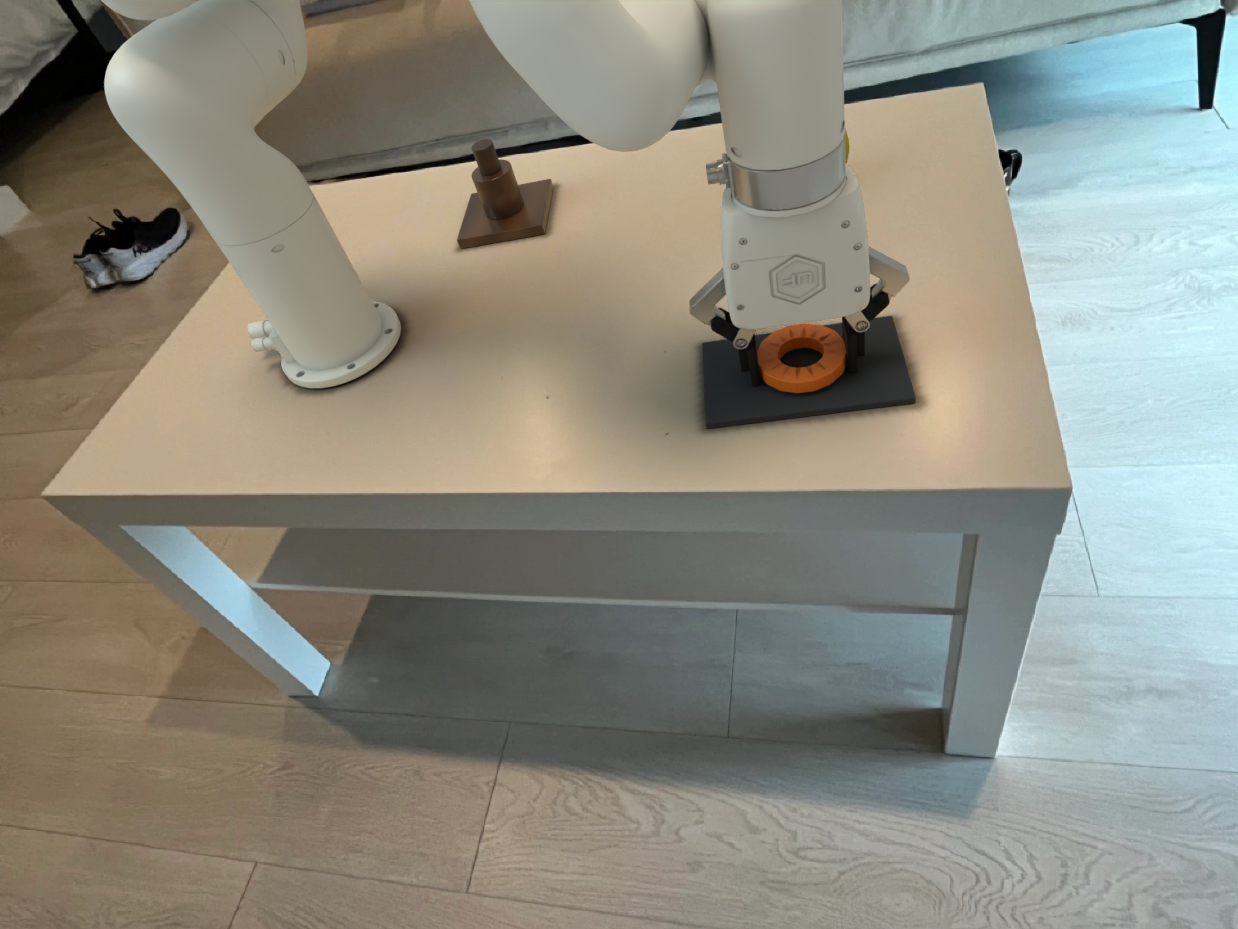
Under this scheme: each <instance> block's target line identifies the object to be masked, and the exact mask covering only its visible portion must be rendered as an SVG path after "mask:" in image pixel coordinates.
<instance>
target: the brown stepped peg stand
mask: <svg viewBox="0 0 1238 929" xmlns="http://www.w3.org/2000/svg"><path fill="white" fill-rule="evenodd" d="M471 152H472V154H473V157H474V159H475V162H476V165H477V167H475V168H474V170H472V172H471V181H472V182H473V185H474V188H475V190H476V192H473V193H470V197H469V200H468V203H467V205H466V209H465V211H464V212H465V213H464V216H463V219H462V222H461V225H460V229H459V232H458V235H457V238H456V241H457V244H458V246H459V249H460V250H463V249H466V248H467V249H469V248H473V247H479V246H484V245H490V244H496V243H502V242H507V241H514V240H518V239H519V240H520V239H524V238H529V237H536V236H542V235H545V234H546V229H547V224H548V218H549V213H550V208H551V202H552V197H553V192H554V185H553V181H552V179H551V178H546V179H542V180H537V181H536V180H535V181H531V182H526V183H520V184H518V181H517V179H516V175H515V172H514V169H513V166H512V163H511V162H510V160H507V159H499V156H498V153H497V150H496V147H495V144H494V142H493V140H492V139H489V138H487V139H486V138H483V139H481V140H480V139H479V140H478V141H476V142H474V143H473V144H472V145H471Z"/></svg>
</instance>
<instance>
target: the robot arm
mask: <svg viewBox="0 0 1238 929" xmlns="http://www.w3.org/2000/svg"><path fill="white" fill-rule="evenodd" d="M100 1H101V2H102V3H103V4H104V5H105V6H106V7H108V8H109V9H111V10H112V11H113V12H115V13H117V14H119V15H121V16H123V17H125V18H128V19H132V20H137V21H138V20H139V21H152V22H151V23H150V24H148V25H146V26H145V27H144V28H142V29H141V30H139V31H138V32H136V33H135V34H133V35H132V36H130V37H129V38H128V39H127V40H126V41H125V42H123V43H122V44H121V45H120V47H119V48H118V49H117V50H116V51H115V53H114V54H113V55H112V57H111V59H110V60H109V63H108V64H107V67H106V70H105V75H104V80H103V84H104V85H103V88H104V95H105V100H106V102H107V106H108V107H109V110H110V111H111V113H112V115H113V117H114V118H115V120H116V122H117V123H118V125H120V127H121V128H122V129H123V131H124V132H125V133H126V134H127V136H129V138H130V139H131V140H132V141H133V142H134V143H135V144H136V145H137V146H138V147H139V149H141V150H142V151H143V152H144V153H145V154H146V155H147V157H148V158H149V159H151V160H152V161H153V163H154V164H155V165H156V166H157V167H158V168H159V169H160V170H161V171H162V173H164V175H165V176H166V177H167V178H168V179H169V181H171V183H172V184H173V185H174V186H175V188H176V189H177V190H178V191H179V192H180V194H181V195H182V197H183V198H184V200H185V201H186V202H187V203H188V205H189V206H190V208H191V209H192V210H193V211H194V213H195V214H196V216H197V217H198V219H199V220H200V222H201V223H202V225H203V226H204V228H205V229H206V231H208V233H209V235H210V237H211V238H212V240H213V241H214V242H215V243H216V245H217V246H218V248H219V249H220V250H221V252H222V254H223V256H224V257H225V259H226V260H227V261H228V262H229V264H230V266H231V267H232V268H233V270H234V272H235V273H236V274H237V276H238V278H239V279H240V280H241V282H242V283H243V285H244V286H245V288H246V289H247V291H248V292H249V294H250V295H251V297H252V298H253V300H254V301H255V303H256V304H257V306H258V307H259V309H260V310H261V312H262V314H264V316H265V317H266V319H263V320H257V321H251V322H249V323H248V324H247V332H248V335H249V337H250V338H251V348H252V350H253V351H254V353H260V352H267V351H270V350H275V351H276V352H278V353H279V355H280V356H281V357H280V366H281V369H282V371H283V374H284V375H286V377H287V379H288V380H289V381H291V383H293V385H297V386H299V387H301V388H307V389H325V388H333V387H336V386H340V385H343V384H346V383H348V382H350V381H353V380H356V379H357V378H360V377H361V376H363V375H365V374H367V373H368V372H371V370H373V369H375V368H376V367H377V366H379V365H380V363H382V362H383V361H384V360H385V359H386V358H387V357H388V356H389V355H390V354H391V353H392V352H393V350H394V348H395V347H396V345H397V344H398V341H399V339H400V336H401V332H402V324H401V321H400V319H399V317H398V315H397V313H396V311H395V310H394V309H393V308H392V307H391V306H389V305H387V303H384V302H381V301H375V300H372V298H371V297H370V295H369V293H368V291H367V289H366V288H365V286H364V283H363V282H362V280H361V278H360V277H359V275H358V273H357V271H356V270H355V267H354V265H353V264H352V262H351V260H350V259H349V256H348V254H347V252H346V250H345V249H344V247H343V245H342V243H341V242H340V240H339V238H338V237H337V236H338V235H337V234H336V233H335V230H334V229H333V227H332V225H331V223H330V222H329V219H328V218H327V216H326V214H325V212H324V210H323V208H322V207H321V205H320V203H319V202H318V199H317V197H316V196H315V194H314V192H313V191H312V189H311V187H310V185H309V183H308V181H307V180H306V178H305V176H304V175H303V173H302V172H301V170H300V169H299V168H298V167H297V165H296V164H295V163H294V162H293V161H292V160H291V159H289V157H287V156H286V155H284V153H282V152H281V151H279V150H277V149H276V148H274V147H273V146H271V145H269V144H268V143H267V142H265V141H264V140H263V139H261V138H260V136H258V134H257V133H256V130H255V127H256V126H257V125H258V124H259V123H260V122H261V121H262V120H263V119H264V118H265V116H267V114H269V113H270V112H271V111H273V109H275V108H276V107H277V106H278V105H279V104H280V103H282V101H283V100H285V99H286V98H287V97H288V96H289V95H291V93H292V92H293V91H294V90H295V89H296V88H297V87H298V85H299V84H300V83H301V82H302V80H303V79H304V76H305V73H306V71H307V66H308V60H309V52H308V40H307V32H306V27H305V22H304V17H303V12H302V7H301V2H300V0H100ZM468 1H469V3H470V5H471V8H472V10H473V12H474V14H475V16H476V17H477V19H478V21H479V23H480V24H481V27H482V28H483V30H484V31H485V33H486V34H487V36H488V38H489V39H490V41H491V42H492V43H493V45H494V46H495V48H496V49H497V51H498V52H499V53H500V54H501V55H502V56H503V58H504V59H505V60H506V62H508V64H510V66H511V67H512V69H514V71H515V72H516V73H517V74H518V76H520V77H521V78H522V79H523V80H524V81H525V82H526V84H527V85H528V86H529V87H530V88H531V89H532V90H533V92H535V94H536V95H537V96H538V98H540V99H541V100H542V101H543V102H544V103H545V104H546V106H548V107H549V109H550V110H552V112H553V113H554V114H555V115H556V116H557V117H558V118H559V119H560V120H562V122H563V123H564V124H566V125H567V126H568V127H569V128H571V129H572V130H573V131H575V132H576V133H577V134H578V135H579V136H581V137H583V138H584V139H586V140H588V141H589V142H591V143H592V144H594V145H596V146H597V147H598V146H599V147H601V148H603V149H606V150H610V151H615V152H622V153H627V152H637V151H640V150H644V149H646V148H650V147H651V146H653V145H654V144H656V143H658V142H659V141H661V140H662V139H663V138H664V137H666V135H668V134H669V133H670V131H671V130H672V129H673V128H674V126H675V125H676V123H677V122H678V121H679V119H680V118H681V116H682V114H683V112H684V110H685V109H686V107H687V106H688V104H689V102H690V101H691V98H692V96H693V95H694V92H695V90H696V88H698V86H700V85H701V84H703V83H704V82H706V81H708V80H711V81H713V82H714V83H715V84H716V89H717V97H718V103H719V111H720V118H721V126H722V134H723V140H724V141H723V142H724V147H725V153H722V154H721V156H722V158H720V159H716V161H714V162H710V163H705V173H706V179H707V184H708V185H715V184H716V185H717V184H719V186H720V185H725V188H724V190H723V192H722V200H721V206H720V207H721V208H720V224H719V225H720V226H719V227H720V250H721V261H722V268H721V269H720V270H719V271H718V272H717V273H716V274H715V275H714V276H712V277H711V279H709V280H708V281H707V282H706V283H705V284H704V285H703V286H702V287H701V288H700V289H699V290H698V291H697V292H696V293H695V294H694V295H693V296H692V297H691V298H690V299H689V302H688V303H689V304H688V305H689V314H690V315H691V316H692V317H694V318H695V319H696V320H698V321H699V322H701V323H702V324H704V325H707V326H709V327H710V329H711V331H712V332H713V333H715V334H717V335H719V336H721V337H722V338H724V339H728V340H730V341H731V342H733V345H734V347H735V348H736V349H738V352H739V358H740V365H741V372H748V371H750V375H751V382H752V386H757V385H758V384H759V383H761V382H760V374H759V366H758V357H757V347H756V339H755V335H756V331H757V330H763V329H772V328H779V327H787V326H791V325H797V324H804V323H805V324H808V323H813V322H820V321H826V320H827V321H828V320H833V319H840V318H841V323H842V338H843V340H844V344H845V349H846V356H847V364H846V366H847V371H848V372H849V371H850V373H854V372H857V357H858V356H865V331H866V330H868V329H869V327H870V323H869V322H870V321H872V320H873V319H874V318H877V316H878V315H879V314H880V313H882V312H883V311H884V310H885V309H886V308H888V306H889V305H890V303H891V302H890V301H891V299H892V298H895V297H896V296H897V295H898V294H899V293H900V292H901V291H902V290H903V289H904V288H905V286H906V285H907V284H908V283H909V282H910V280H911V277H910V275H909V274H910V273H909V272H908V269H907V266H906V265H905V264H903V263H902V262H899V261H898V260H896V259H893V258H892V257H890V256H888V255H886V254H885V253H882V252H880V251H878V250H877V249H875V248H873V247H871V246H869V238H868V237H869V236H868V228H867V227H868V225H867V217H866V209H865V204H864V198H863V193H862V189H861V185H860V182H859V179H858V176H857V175H856V173H855V170H854V169H853V168H852V167H851V166H850V165H849V164H848V163H847V164H846V157H845V129H846V120H845V119H846V118H845V114H846V113H845V85H844V84H845V83H844V82H845V80H844V75H845V74H844V36H843V35H844V27H843V26H844V25H843V22H844V21H843V0H468ZM871 275H872V276H874V277H876V278H878V279H879V280H878V282H877V283H874V284H872V285H871ZM724 297H726V304H727V308H728V310H726V309H724V308H722V307H718V306H717V304H718V303H719V302H720V301H721V300H723V298H724Z"/></svg>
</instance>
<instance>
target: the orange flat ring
mask: <svg viewBox="0 0 1238 929" xmlns="http://www.w3.org/2000/svg"><path fill="white" fill-rule="evenodd" d="M771 333H772V334H770V335H769V336H768V337H767V338H766V339H765V340H763V341H762V342H761V344H760V347H759V349H758V351H757V357H758V366H759V374H760V376H761V377H762V379H763V380H764V381H765V382H766V384H768V385H769V386H771V387H773V388H775V389H778V390H781V391H784V392H791V393H804V392H812V391H817V390H819V389H821V388H823V387H826V386H828V385H830V384H832V383H833V382H834V381H835V380H836V379H837V378H839V377H840V376H841V375H842V374H843V372H844V369H845V366H846V364H847V356H846V349H845V344H844V340H843V338H842V337H841V336H840V335H839V334H838V333H837V332H836V331H835V330H832V329H830V328H827V327H825V326H823V324H813V323H800V324H794V325H787V326H784V327H782V328H780V329H778V330H775V331H773V332H771ZM799 348H811V349H814V350H816V351H819V352H820V353H821V354H822V355H823V357H822V358H821V359H820V360H819V361H818V362H817V363H815V364H813V365H811V366H808V367H801V368H795V367H789V366H787V365H785V364H783V363H782V362H781V361H780V359H781V357H782V356H783V355H784V354H786V353H787V352H789V351H791V350H793V349H799Z"/></svg>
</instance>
